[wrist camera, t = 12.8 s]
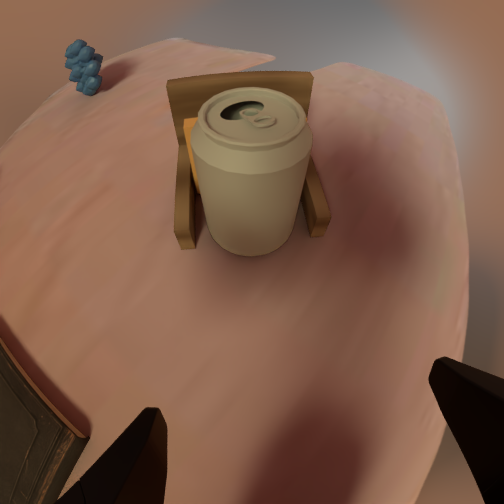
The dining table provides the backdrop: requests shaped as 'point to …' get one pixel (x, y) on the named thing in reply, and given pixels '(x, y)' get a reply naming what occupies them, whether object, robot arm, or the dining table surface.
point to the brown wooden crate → (187, 106)
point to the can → (251, 167)
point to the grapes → (84, 67)
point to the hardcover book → (32, 439)
